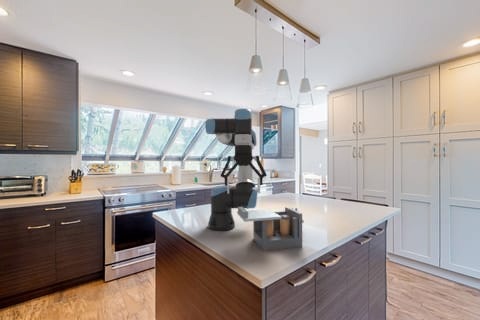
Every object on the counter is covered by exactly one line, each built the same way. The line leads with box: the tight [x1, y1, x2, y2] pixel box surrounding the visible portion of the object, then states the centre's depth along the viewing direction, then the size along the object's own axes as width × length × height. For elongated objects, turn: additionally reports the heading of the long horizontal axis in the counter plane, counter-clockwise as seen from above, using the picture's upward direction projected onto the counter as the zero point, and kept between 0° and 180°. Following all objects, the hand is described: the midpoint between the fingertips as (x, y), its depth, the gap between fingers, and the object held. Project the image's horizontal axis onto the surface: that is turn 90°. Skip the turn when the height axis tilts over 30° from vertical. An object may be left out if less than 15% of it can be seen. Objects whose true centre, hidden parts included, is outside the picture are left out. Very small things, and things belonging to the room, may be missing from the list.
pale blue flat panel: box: [236, 207, 281, 223], centre depth 98 cm, size 14×16×4 cm
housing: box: [252, 206, 303, 252], centre depth 100 cm, size 14×18×14 cm
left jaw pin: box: [266, 220, 273, 237], centre depth 99 cm, size 4×4×12 cm
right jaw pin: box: [280, 215, 290, 236], centre depth 101 cm, size 4×4×12 cm
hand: (243, 192), depth 96 cm, fingers open, 13 cm apart
